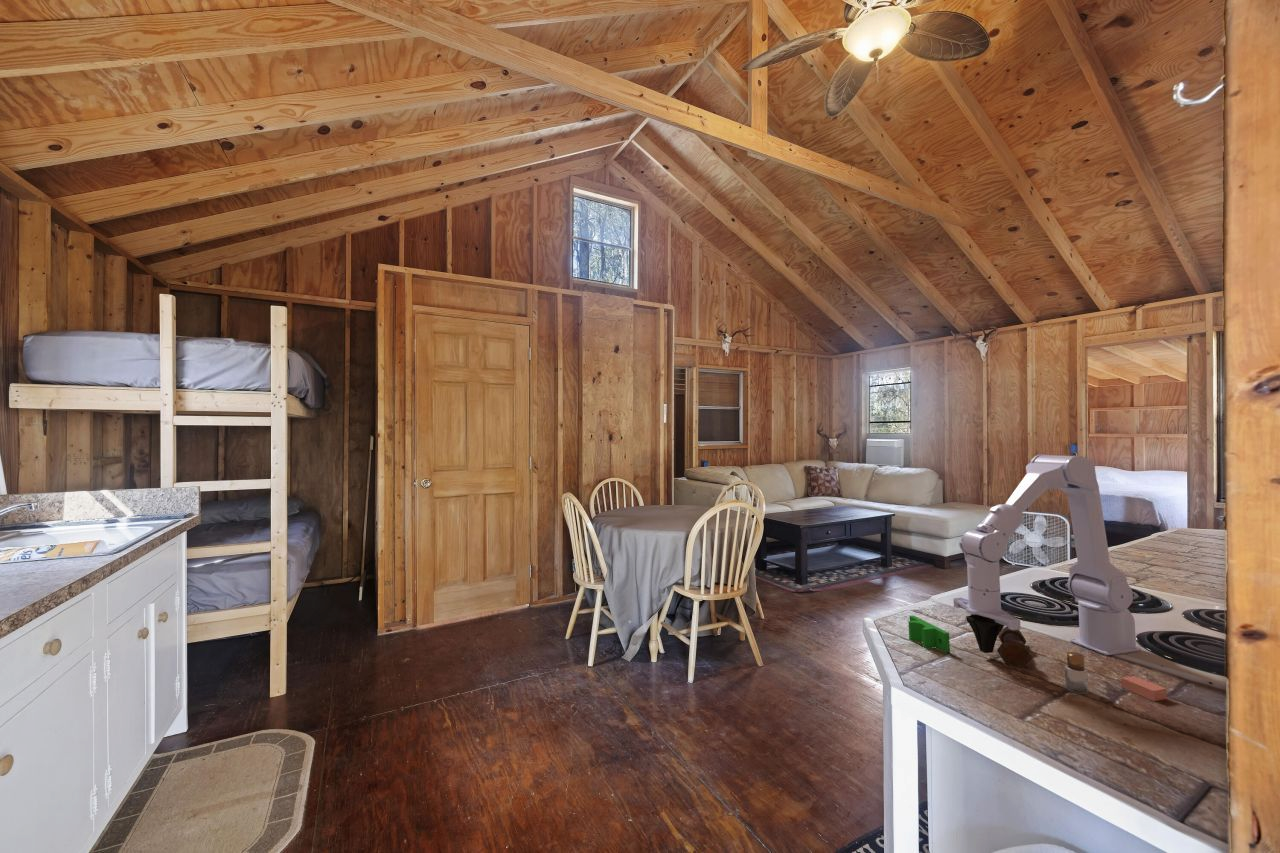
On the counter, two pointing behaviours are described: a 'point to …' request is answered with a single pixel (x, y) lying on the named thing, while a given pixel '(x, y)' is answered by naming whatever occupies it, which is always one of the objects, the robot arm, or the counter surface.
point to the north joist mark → (1144, 688)
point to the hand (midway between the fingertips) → (986, 651)
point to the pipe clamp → (928, 634)
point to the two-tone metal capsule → (1076, 673)
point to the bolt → (1013, 648)
